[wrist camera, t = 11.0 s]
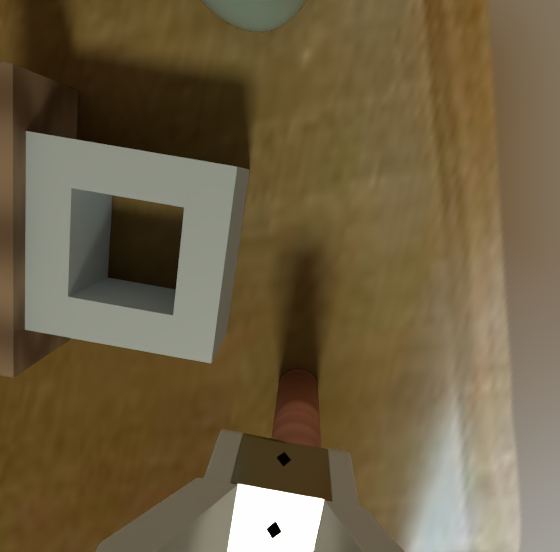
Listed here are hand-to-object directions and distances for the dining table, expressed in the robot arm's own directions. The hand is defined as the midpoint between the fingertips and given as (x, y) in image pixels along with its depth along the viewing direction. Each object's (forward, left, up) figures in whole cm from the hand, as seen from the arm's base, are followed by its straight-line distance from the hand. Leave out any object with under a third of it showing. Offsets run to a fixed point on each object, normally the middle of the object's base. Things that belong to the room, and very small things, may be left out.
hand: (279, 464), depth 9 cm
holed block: (-1, -10, -19) cm, 22 cm away
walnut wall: (-1, -18, -19) cm, 26 cm away
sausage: (+9, +2, -19) cm, 21 cm away
